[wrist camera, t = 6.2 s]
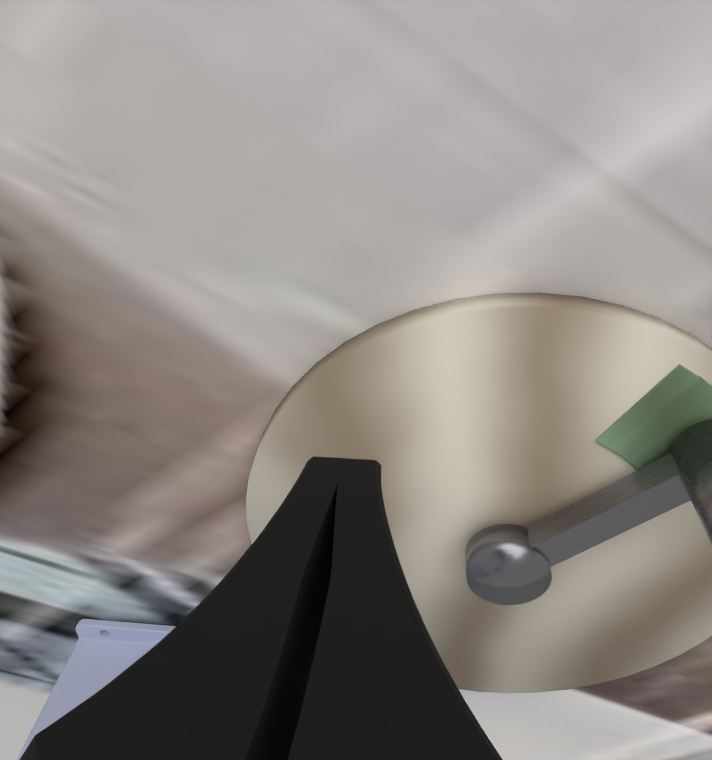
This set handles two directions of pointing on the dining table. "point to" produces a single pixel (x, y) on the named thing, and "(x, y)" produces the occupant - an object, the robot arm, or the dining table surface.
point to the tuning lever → (590, 522)
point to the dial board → (515, 474)
